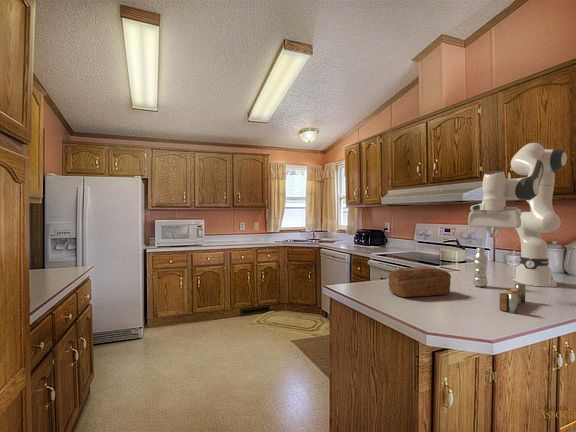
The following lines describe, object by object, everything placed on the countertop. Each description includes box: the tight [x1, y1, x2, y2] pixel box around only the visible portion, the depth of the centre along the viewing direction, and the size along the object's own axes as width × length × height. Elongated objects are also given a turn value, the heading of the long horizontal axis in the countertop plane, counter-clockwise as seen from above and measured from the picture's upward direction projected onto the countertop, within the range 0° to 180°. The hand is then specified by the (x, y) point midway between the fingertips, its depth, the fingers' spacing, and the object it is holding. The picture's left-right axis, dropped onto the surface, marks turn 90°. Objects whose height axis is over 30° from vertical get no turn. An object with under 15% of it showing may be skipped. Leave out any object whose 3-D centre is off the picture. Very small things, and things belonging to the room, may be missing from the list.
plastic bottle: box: [472, 247, 489, 288], centre depth 158 cm, size 6×7×20 cm
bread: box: [388, 266, 452, 298], centre depth 144 cm, size 14×28×12 cm, turn 104°
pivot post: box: [514, 282, 526, 304], centre depth 131 cm, size 4×4×8 cm
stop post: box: [507, 293, 519, 315], centre depth 117 cm, size 3×3×7 cm
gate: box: [499, 286, 522, 312], centre depth 124 cm, size 18×2×6 cm, turn 128°
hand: (493, 237), depth 138 cm, fingers closed
